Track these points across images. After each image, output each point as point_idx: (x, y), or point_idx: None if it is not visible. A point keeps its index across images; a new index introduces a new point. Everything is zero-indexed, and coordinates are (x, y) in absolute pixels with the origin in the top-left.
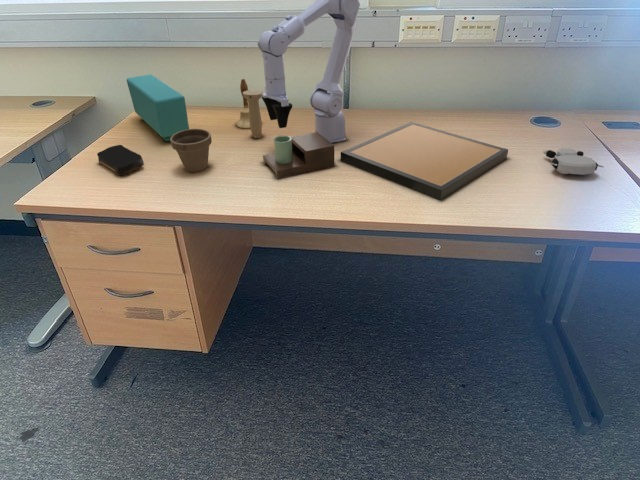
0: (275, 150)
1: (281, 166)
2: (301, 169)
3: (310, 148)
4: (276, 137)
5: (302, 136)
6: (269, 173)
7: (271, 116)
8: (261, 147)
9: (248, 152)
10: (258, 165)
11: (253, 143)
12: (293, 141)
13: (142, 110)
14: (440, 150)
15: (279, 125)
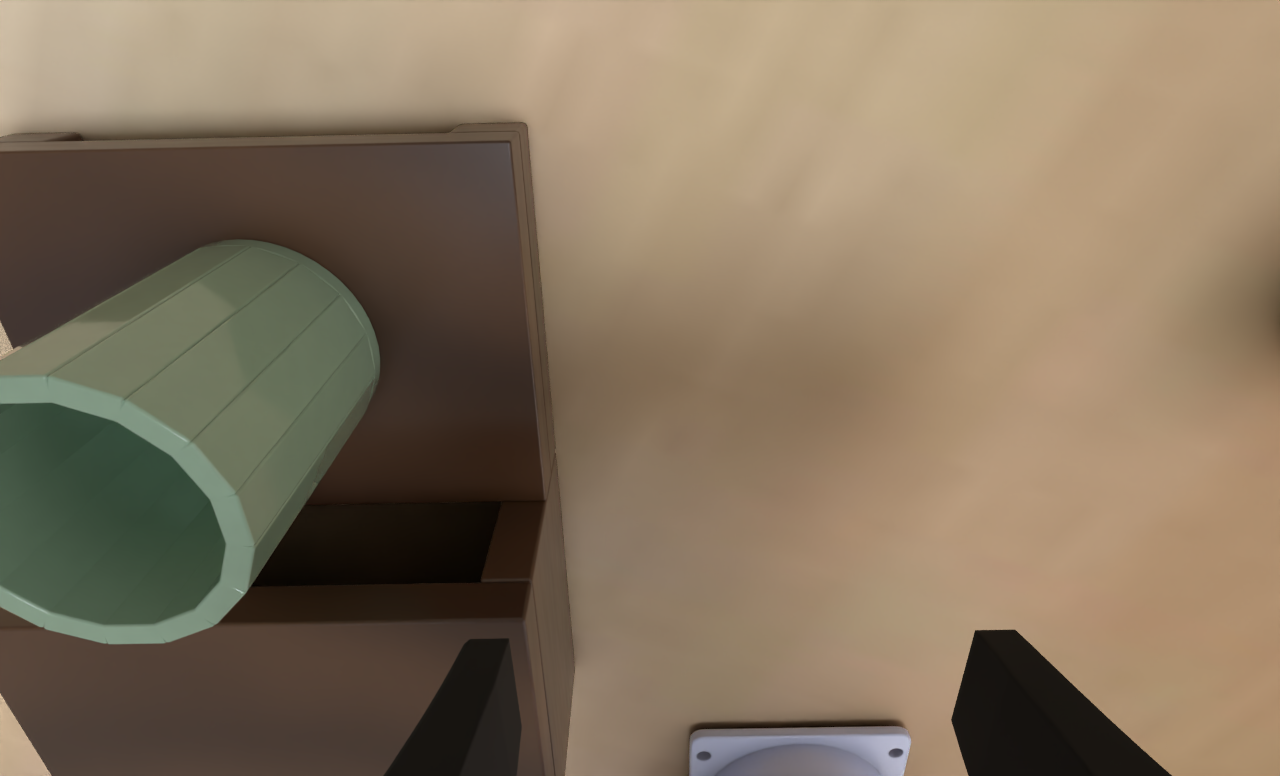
0: (110, 301)
1: (66, 255)
2: None
3: (52, 692)
4: (178, 459)
5: None
6: (197, 92)
7: (1008, 706)
8: (1004, 252)
9: (966, 35)
10: (482, 32)
11: (1196, 199)
12: (400, 607)
13: None
14: None
15: (445, 681)
